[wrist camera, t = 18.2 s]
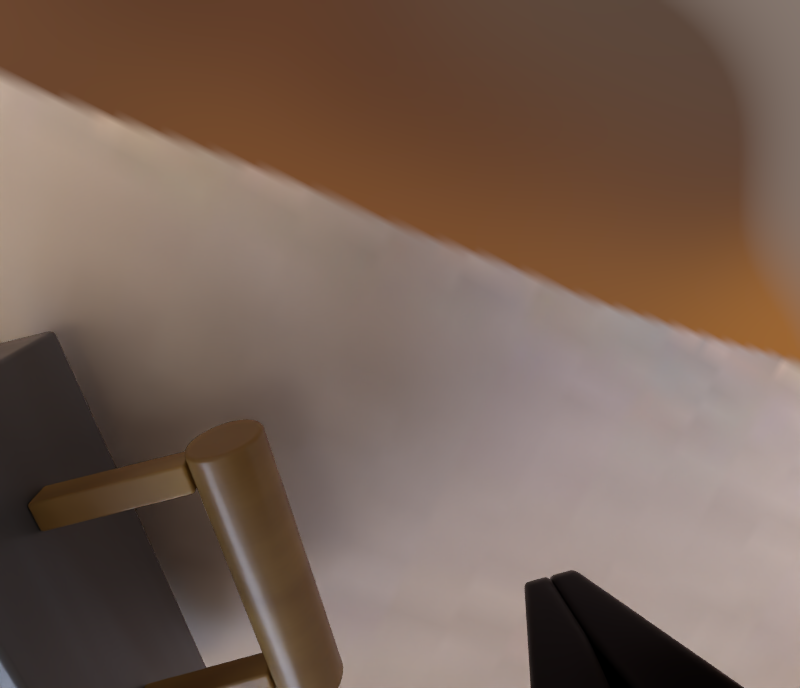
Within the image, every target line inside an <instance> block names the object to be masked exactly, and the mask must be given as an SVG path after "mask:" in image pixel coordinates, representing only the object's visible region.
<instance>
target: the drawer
mask: <svg viewBox="0 0 800 688" xmlns="http://www.w3.org/2000/svg"><path fill="white" fill-rule="evenodd" d="M196 488H197V489H198V492H199V494H200V497H201V499H202V502H203V505H204V507H205V510H206V512H207V515H208V517H209V520H210V522H211V525H212V527H213V530H214V532H215V535H216V537H217V540H218V542H219V545H220V547H221V550H222V552H223V555H224V557H225V560H226V562H227V565H228V567H229V570H230V572H231V575H232V577H233V580H234V582H235V585H236V587H237V590H238V592H239V595H240V597H241V600H242V602H243V605H244V607H245V610H246V612H247V615H248V618H249V620H250V623H251V625H252V628H253V630H254V633H255V635H256V638H257V640H258V643H259V645H260V648H261V650H262V653H259V654H256V655H252V656H248V657H245V658H241V659H237V660H234V661H230V662H226V663H222V664H219V665H215V666H211V667H208V668H206V666H205V664H204V662H203V660H202V657H201V655H200V653H199V651H198V648H197V646H196V644H195V642H194V640H193V637H192V635H191V633H190V631H189V629H188V626H187V624H186V622H185V620H184V617H183V615H182V613H181V611H180V609H179V606H178V604H177V602H176V600H175V598H174V595H173V593H172V591H171V589H170V586H169V584H168V582H167V580H166V578H165V575H164V573H163V571H162V569H161V567H160V564H159V562H158V560H157V558H156V556H155V553H154V551H153V549H152V547H151V544H150V542H149V540H148V538H147V536H146V533H145V531H144V529H143V527H142V525H141V522H140V520H139V518H138V516H137V513H136V511H135V508H139V507H143V506H147V505H151V504H155V503H158V502H162V501H166V500H170V499H174V498H178V497H182V496H186V495H190V494H193V493H195V491H196ZM342 674H343V664H342V660H341V657H340V654H339V651H338V648H337V645H336V642H335V639H334V636H333V633H332V630H331V627H330V624H329V621H328V618H327V615H326V612H325V609H324V606H323V603H322V600H321V597H320V594H319V591H318V588H317V585H316V582H315V579H314V576H313V573H312V570H311V567H310V564H309V561H308V558H307V555H306V552H305V549H304V546H303V543H302V540H301V537H300V534H299V531H298V528H297V525H296V522H295V519H294V516H293V513H292V510H291V507H290V504H289V501H288V498H287V495H286V492H285V489H284V486H283V483H282V480H281V477H280V474H279V471H278V468H277V465H276V462H275V459H274V456H273V453H272V450H271V447H270V444H269V441H268V438H267V435H266V432H265V429H264V427H263V425H262V424H261V423H260V422H258V421H256V420H252V419H243V420H236V421H231V422H227V423H224V424H221V425H218V426H216V427H213V428H211V429H209V430H207V431H205V432H204V433H202V434H200V435H199V436H197V437H196V438H195V439H194V440H192V441H191V442H190V443H189V445H188V446H187V447H186V450H185V452H181V453H177V454H173V455H169V456H164V457H160V458H156V459H152V460H148V461H144V462H140V463H136V464H132V465H128V466H124V467H120V468H116V467H115V465H114V463H113V460H112V458H111V456H110V454H109V451H108V449H107V447H106V445H105V443H104V440H103V438H102V436H101V434H100V432H99V429H98V427H97V425H96V423H95V421H94V418H93V416H92V414H91V412H90V409H89V407H88V405H87V403H86V401H85V398H84V396H83V394H82V392H81V390H80V387H79V385H78V383H77V381H76V378H75V376H74V374H73V372H72V370H71V367H70V365H69V363H68V361H67V359H66V356H65V354H64V352H63V350H62V347H61V345H60V343H59V341H58V339H57V336H56V334H55V333H54V332H45V333H41V334H37V335H32V336H28V337H24V338H20V339H15V340H11V341H7V342H2V343H0V688H338V687H339V684H340V682H341V679H342Z"/></svg>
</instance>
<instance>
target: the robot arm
mask: <svg viewBox="0 0 800 688" xmlns="http://www.w3.org/2000/svg"><path fill="white" fill-rule="evenodd" d="M525 603H526V619H527V634H528V650H529V666H530V682H531V688H744V687H742V686H741V685H739V684H738V683H737V682H735V681H734V680H732V679H731V678H729V677H728V676H726V675H725V674H724V673H722V672H721V671H719V670H718V669H716V668H715V667H714V666H712V665H711V664H709V663H708V662H706V661H705V660H703V659H702V658H701V657H699V656H698V655H696V654H695V653H693V652H692V651H691V650H689V649H688V648H686V647H685V646H683V645H682V644H680V643H679V642H678V641H676V640H675V639H673V638H672V637H670V636H669V635H668V634H666V633H665V632H663V631H662V630H660V629H659V628H657V627H656V626H655V625H653V624H652V623H650V622H649V621H647V620H646V619H645V618H643V617H642V616H640V615H639V614H637V613H636V612H634V611H633V610H632V609H630V608H629V607H627V606H626V605H624V604H623V603H622V602H620V601H619V600H617V599H616V598H614V597H613V596H611V595H610V594H609V593H607V592H606V591H604V590H603V589H601V588H600V587H598V586H597V585H596V584H594V583H593V582H591V581H590V580H588V579H587V578H586V577H584V576H583V575H581V574H580V573H578V572H576V571H573V570H570V571H567V572H563V573H559V574H556V575H553V576H552V577H551V578H550V579H549V578H547V577H544V578H541V579H537V580H533V581H530V582H527V583H526V584H525Z"/></svg>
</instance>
